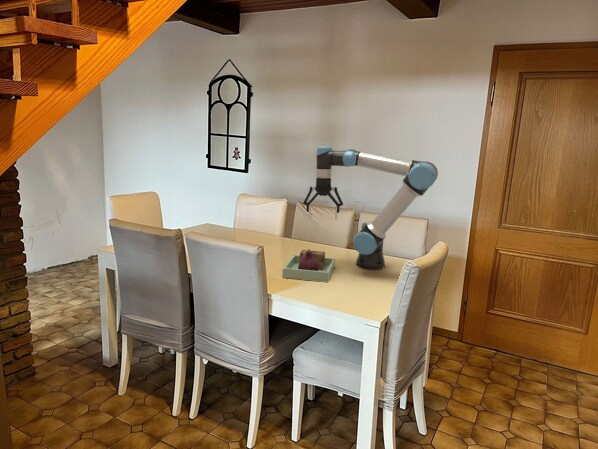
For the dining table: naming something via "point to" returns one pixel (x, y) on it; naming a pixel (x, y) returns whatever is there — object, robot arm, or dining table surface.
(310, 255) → the vegetable
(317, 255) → the walnut block
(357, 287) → the dining table surface
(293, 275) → the tray
